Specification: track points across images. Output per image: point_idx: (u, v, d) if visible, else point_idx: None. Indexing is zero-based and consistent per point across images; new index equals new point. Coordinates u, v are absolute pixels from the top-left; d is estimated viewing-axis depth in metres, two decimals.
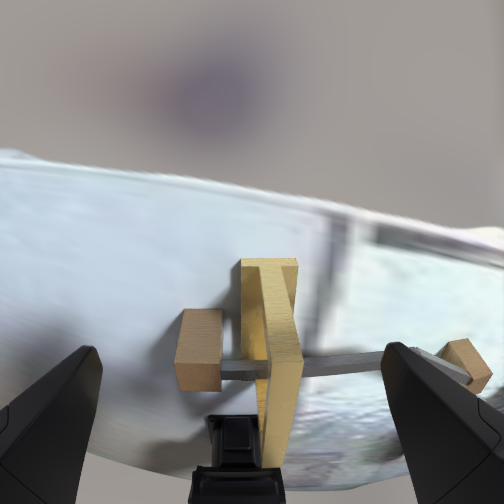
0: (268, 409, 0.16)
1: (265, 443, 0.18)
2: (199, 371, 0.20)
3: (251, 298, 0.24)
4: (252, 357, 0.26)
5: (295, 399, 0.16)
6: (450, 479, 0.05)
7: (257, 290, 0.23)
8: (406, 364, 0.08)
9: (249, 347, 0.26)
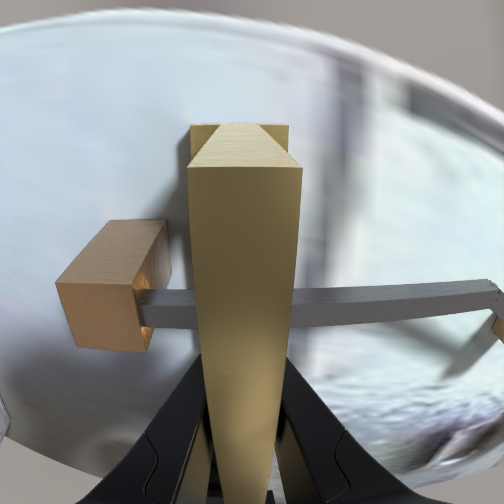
0: (206, 376, 0.06)
1: (220, 466, 0.07)
2: (98, 302, 0.10)
3: None
4: None
5: (283, 343, 0.05)
6: None
7: None
8: None
9: None
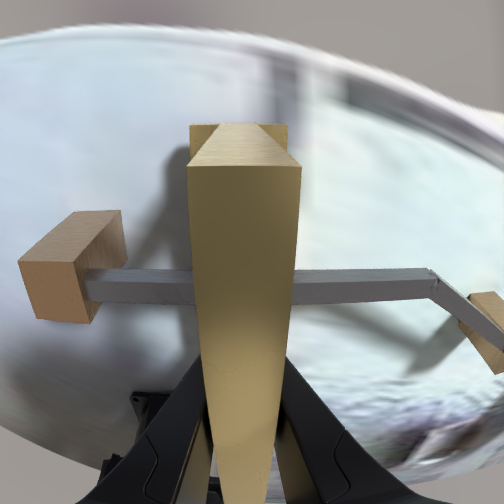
0: (205, 374, 0.06)
1: (219, 465, 0.07)
2: (50, 277, 0.11)
3: None
4: None
5: (282, 341, 0.05)
6: None
7: None
8: None
9: None
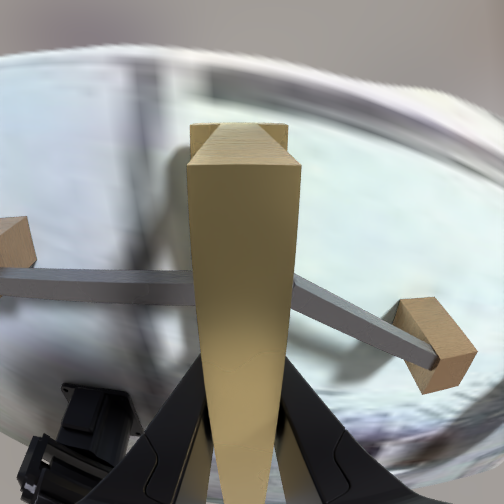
0: (205, 373, 0.06)
1: (219, 464, 0.07)
2: None
3: None
4: None
5: (282, 340, 0.05)
6: None
7: None
8: None
9: None
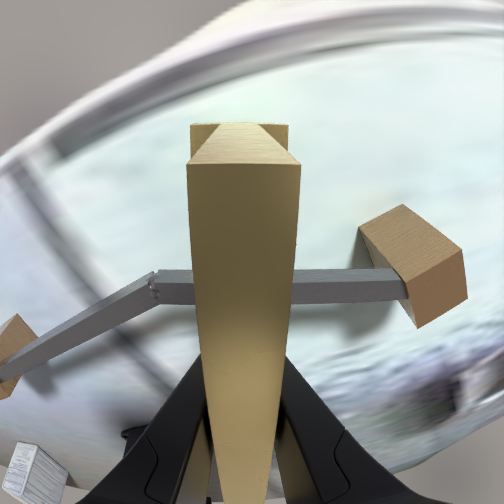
0: (205, 373, 0.06)
1: (219, 464, 0.07)
2: None
3: None
4: None
5: (282, 340, 0.05)
6: None
7: None
8: None
9: None
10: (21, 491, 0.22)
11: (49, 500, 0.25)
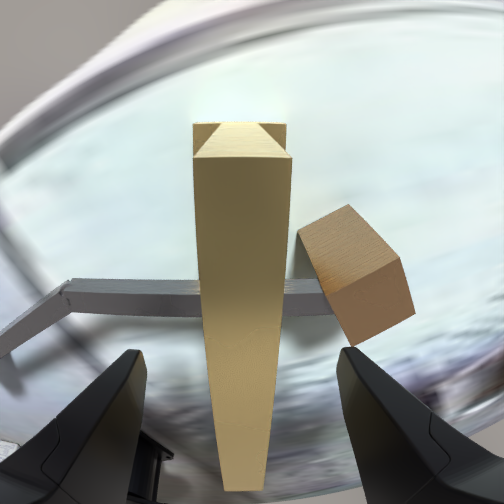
0: (207, 349, 0.06)
1: (219, 444, 0.08)
2: None
3: None
4: None
5: (277, 317, 0.06)
6: (400, 497, 0.05)
7: None
8: (356, 371, 0.08)
9: None
10: None
11: None
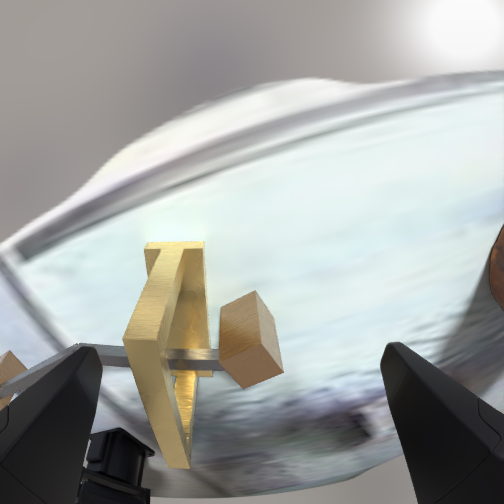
0: (141, 395, 0.14)
1: (156, 437, 0.16)
2: None
3: None
4: None
5: (164, 386, 0.14)
6: (450, 479, 0.05)
7: None
8: (406, 364, 0.08)
9: (167, 338, 0.24)
10: None
11: None
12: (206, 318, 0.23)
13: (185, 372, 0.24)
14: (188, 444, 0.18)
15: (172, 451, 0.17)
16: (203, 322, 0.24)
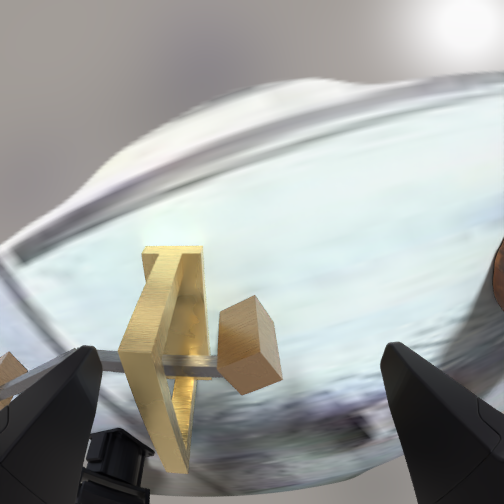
0: (138, 405, 0.14)
1: (154, 444, 0.16)
2: None
3: None
4: (171, 353, 0.24)
5: (161, 397, 0.14)
6: (450, 479, 0.05)
7: None
8: (406, 364, 0.08)
9: (165, 342, 0.24)
10: None
11: None
12: (205, 323, 0.23)
13: None
14: (186, 449, 0.18)
15: (170, 457, 0.16)
16: (201, 326, 0.23)
